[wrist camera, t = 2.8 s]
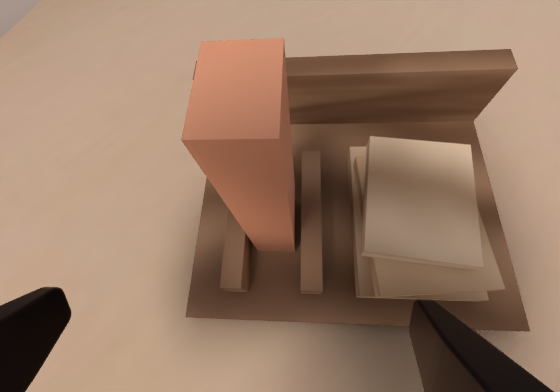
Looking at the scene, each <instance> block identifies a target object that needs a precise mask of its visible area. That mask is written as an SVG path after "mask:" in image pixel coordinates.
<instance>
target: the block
mask: <svg viewBox="0 0 560 392" xmlns="http://www.w3.org/2000/svg"><path fill="white" fill-rule="evenodd" d="M181 140H182V142H183V143H184V145H185V146H186V147H187V149H188V150H189V152H190V153H191V155H192V156H193V158H194V159H195V161H196V162H197V163H198V165H199V166H200V168H201V169H202V171H203V172H204V174H205V175H206V176H207V178H208V179H209V181H210V182H211V184H212V185H213V187H214V188H215V189H216V191H217V192H218V194H219V195H220V197H221V198H222V200H223V201H224V202H225V204H226V205H227V207H228V208H229V210H230V211H231V213H232V214H233V215H234V217H235V218H236V220H237V221H238V223H239V224H240V226H241V227H242V229H243V230H244V231H245V233H246V234H247V236H248V237H249V239H250V240H251V242H252V243H253V244H254V246H255V247H256V249H257V250H258V251H295V243H296V193H295V180H294V166H293V153H292V140H291V126H290V113H289V100H288V87H287V73H286V60H285V47H284V38H272V39H250V40H227V41H205V42H201V44H200V49H199V54H198V59H197V64H196V69H195V74H194V79H193V84H192V89H191V94H190V99H189V104H188V109H187V114H186V119H185V124H184V129H183V134H182V139H181Z"/></svg>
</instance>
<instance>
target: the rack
mask: <svg viewBox="0 0 560 392" xmlns="http://www.w3.org/2000/svg"><path fill="white" fill-rule="evenodd" d="M285 60H286V73H287V87H288V100H289V113H290V126H291V140H292V153H293V166H294V180H295V193H296V243H295V251H258V250H257V249H256V247H255V246H254V244H253V243H252V242H251V240H250V239H249V237H248V236H247V234H246V233H245V231H244V230H243V229H242V227H241V226H240V224H239V223H238V221H237V220H236V218H235V217H234V215H233V214H232V213H231V211H230V210H229V208H228V207H227V205H226V204H225V202H224V201H223V200H222V198H221V197H220V195H219V194H218V192H217V191H216V189H215V188H214V187H213V185H212V184H211V182H210V181H209V179H208V178H207V179H206V186H205V192H204V199H203V206H202V212H201V219H200V226H199V232H198V239H197V245H196V252H195V259H194V265H193V272H192V279H191V285H190V292H189V298H188V305H187V312H186V317H193V318H217V319H241V320H266V321H290V322H314V323H338V324H362V325H386V326H409V324H410V319H411V313H412V308H413V303H414V301H415V300H416V299H431V300H435V301H436V302H438V303H439V304H440V305H442V306H443V307H444V308H445V309H447V310H448V311H449V312H451V313H452V314H453V315H455V316H456V317H457V318H458V319H460V320H461V321H462V322H464V323H465V324H466V325H468V326H469V327H470V328H471V329H483V330H507V331H530V329H529V326H528V322H527V318H526V314H525V311H524V307H523V303H522V300H521V296H520V292H519V289H518V285H517V281H516V277H515V274H514V270H513V266H512V263H511V259H510V255H509V252H508V248H507V244H506V240H505V237H504V233H503V229H502V226H501V222H500V218H499V215H498V211H497V207H496V203H495V200H494V196H493V192H492V189H491V185H490V181H489V178H488V174H487V170H486V166H485V163H484V159H483V155H482V152H481V148H480V144H479V141H478V137H477V133H476V129H475V126H474V122H473V121H474V120H475V119H476V117H477V116H478V115H479V114H480V113H481V111H482V110H483V109H484V108H485V107H486V106H487V104H488V103H489V102H490V101H491V100H492V99H493V97H494V96H495V95H496V94H497V93H498V91H499V90H500V89H501V88H502V87H503V86H504V84H505V83H506V82H507V81H508V80H509V79H510V77H511V76H512V75H513V74H514V73H515V72H516V70H517V69H518V67H517V65H516V62H515V59H514V57H513V54H512V51H511V49H501V50H475V51H449V52H423V53H397V54H371V55H345V56H319V57H293V58H285ZM196 64H197V61H196ZM195 69H196V66H195ZM194 74H195V71H194ZM193 79H194V76H193Z"/></svg>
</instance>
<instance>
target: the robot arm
mask: <svg viewBox="0 0 560 392" xmlns="http://www.w3.org/2000/svg"><path fill="white" fill-rule="evenodd" d="M70 318H71V309H70V307H69V304H68V302H67V299H66V297H65V294H64V292H63V290H62V289H61V288H58V287H43V288H40V289H37V290H35V291H33V292H30V293H28V294H26V295H24V296H21V297H19V298H17V299H14V300H12V301H10V302H8V303H5V304H3V305H1V306H0V392H25V391H26V390H27V388H28V387H29V385H30V384H31V382H32V381H33V379H34V378H35V376H36V375H37V373H38V372H39V370H40V368H41V367H42V365H43V363H44V362H45V360H46V359H47V357H48V355H49V354H50V352H51V350H52V349H53V347H54V345H55V344H56V342H57V340H58V339H59V337H60V335H61V334H62V332H63V331H64V329H65V327H66V326H67V324H68V322H69V320H70ZM409 331H410V337H411V341H412V345H413V348H414V352H415V356H416V360H417V364H418V368H419V372H420V375H421V379H422V383H423V387H424V391H425V392H553V391H552V390H551V389H550V388H548V387H547V386H546V385H544V384H543V383H542V382H540V381H539V380H538V379H537V378H535V377H534V376H533V375H531V374H530V373H529V372H527V371H526V370H525V369H524V368H522V367H521V366H520V365H518V364H517V363H516V362H514V361H513V360H512V359H511V358H509V357H508V356H507V355H505V354H504V353H503V352H501V351H500V350H499V349H498V348H496V347H495V346H494V345H492V344H491V343H490V342H488V341H487V340H486V339H484V338H483V337H482V336H481V335H479V334H478V333H477V332H475V331H474V330H473V329H471V328H470V327H469V326H468V325H466V324H465V323H464V322H462V321H461V320H460V319H458V318H457V317H456V316H455V315H453V314H452V313H451V312H449V311H448V310H447V309H445V308H444V307H443V306H442V305H440V304H439V303H438V302H436V301H435V300H431V299H416V300H415V301H414V303H413V308H412V313H411V319H410V324H409Z"/></svg>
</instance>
